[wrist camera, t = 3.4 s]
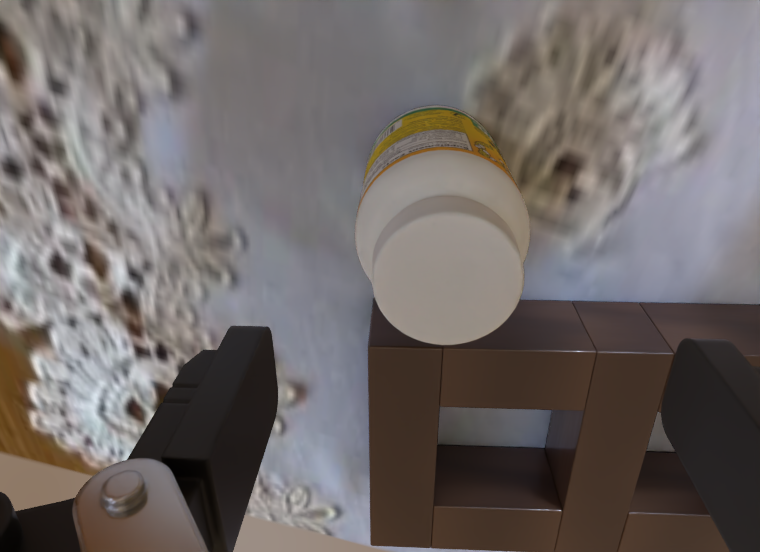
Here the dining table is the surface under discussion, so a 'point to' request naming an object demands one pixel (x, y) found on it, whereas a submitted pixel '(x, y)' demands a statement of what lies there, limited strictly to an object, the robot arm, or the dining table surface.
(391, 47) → the dining table surface
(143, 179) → the dining table surface
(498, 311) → the supplement bottle
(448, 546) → the holder
